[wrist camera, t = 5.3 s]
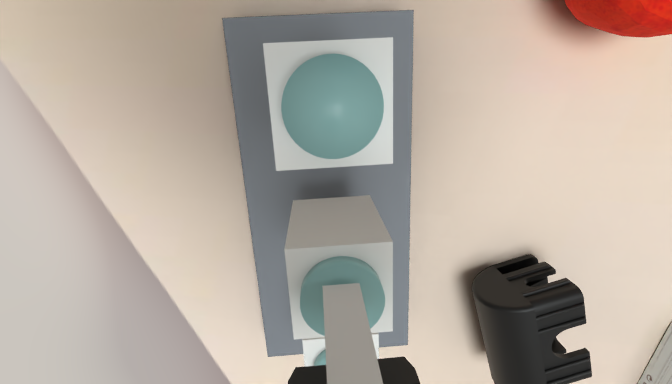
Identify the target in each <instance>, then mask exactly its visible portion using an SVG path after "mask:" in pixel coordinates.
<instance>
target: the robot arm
mask: <svg viewBox="0 0 672 384" xmlns="http://www.w3.org/2000/svg"><path fill="white" fill-rule="evenodd" d="M322 287H323V308H324V329H325V350H326V365H317V366H306V367H296V368H295V370H294V372H293V373H292V375H291V377H290V379H289V381H288V384H420V381H419V379H418V376H417V373H416V370H415V368H414V367H413V366H412V365H411V364H410V363H409V362H408V360H407V359H406V358H405V357H396V358H384V359H377V355H376V351H375V347H374V343H373V338H372V334H371V330H370V326H369V321H368V317H367V313H366V309H365V304H364V300H363V296H362V292H361V287H360V283H352V284H339V285H326V286H322Z"/></svg>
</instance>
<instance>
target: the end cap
mask: <svg viewBox="0 0 672 384" xmlns="http://www.w3.org/2000/svg"><path fill="white" fill-rule="evenodd" d="M553 274H556V271H555V269H554V268H553V267H551V266H550V265H549V264H548V263H546V262H541V263H538V260H537V258H535V257H534V256H533V255H525V256H521V257H518V258H515V259H512V260H508V261H505V262H502V263H499V264H496V265H492V266H490V267H488V268H486V269H485V270H483V271H482V272H481V273H479V274H478V275H477V276H476V277H475V279H474V281H473V283H472V292H473V296H474V301H475V305H476V310H477V314H478V318H479V323H480V327H481V332H482V336H483V340H484V345H485V349H486V354H487V358H488V363H489V367H490V371H491V376H492V379H493V381H494V383H495V384H569V383H572V382H576V381H579V380H582V379H586V378H589V377H591V376H592V372H591V362H590V353H589V351H588V350H587V349H586V348H584V349H580V350H577V351H574V352H570V353H567V354H564V353H566V349H565V348H564V347H563V346H562V345H561V344H560V343H559V341H558V340H557V339H556V336H557V335H558V334H559V333H560V332H562V331H564V330H566V329H569V328H572V327H576V326H579V325H582V324H586V316H585V306H584V297H583V294H582V292H581V290H580V289H579V288H578V287H577V286H576V285H575V284H573V283H572V282H571V281H570V280H568V279H567V278H564V279H561V280H558V281H554V282H551V283H548V279H547V276H549V275H553Z"/></svg>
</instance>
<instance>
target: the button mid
mask: <svg viewBox="0 0 672 384" xmlns="http://www.w3.org/2000/svg"><path fill="white" fill-rule="evenodd" d="M284 251H285V260H286V270H287V279H288V289H289V298H290V308H291V317H292V327H293V337H294V340H295V339H307V338H319V337H325V329H324V308H323V287H322V286H326V285H339V284H352V283H360V287H361V292H362V296H363V300H364V304H365V309H366V313H367V317H368V321H369V326H370V330H371V333H379V332H391V331H393V241H392V239H391V237H390V235H389V233H388V231H387V229H386V227H385V225H384V223H383V221H382V219H381V217H380V215H379V213H378V211H377V209H376V207H375V205H374V203H373V201H372V199H371V197H370V195H366V196H351V197H335V198H320V199H305V200H293V204H292V209H291V215H290V221H289V226H288V232H287V238H286V243H285V249H284Z"/></svg>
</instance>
